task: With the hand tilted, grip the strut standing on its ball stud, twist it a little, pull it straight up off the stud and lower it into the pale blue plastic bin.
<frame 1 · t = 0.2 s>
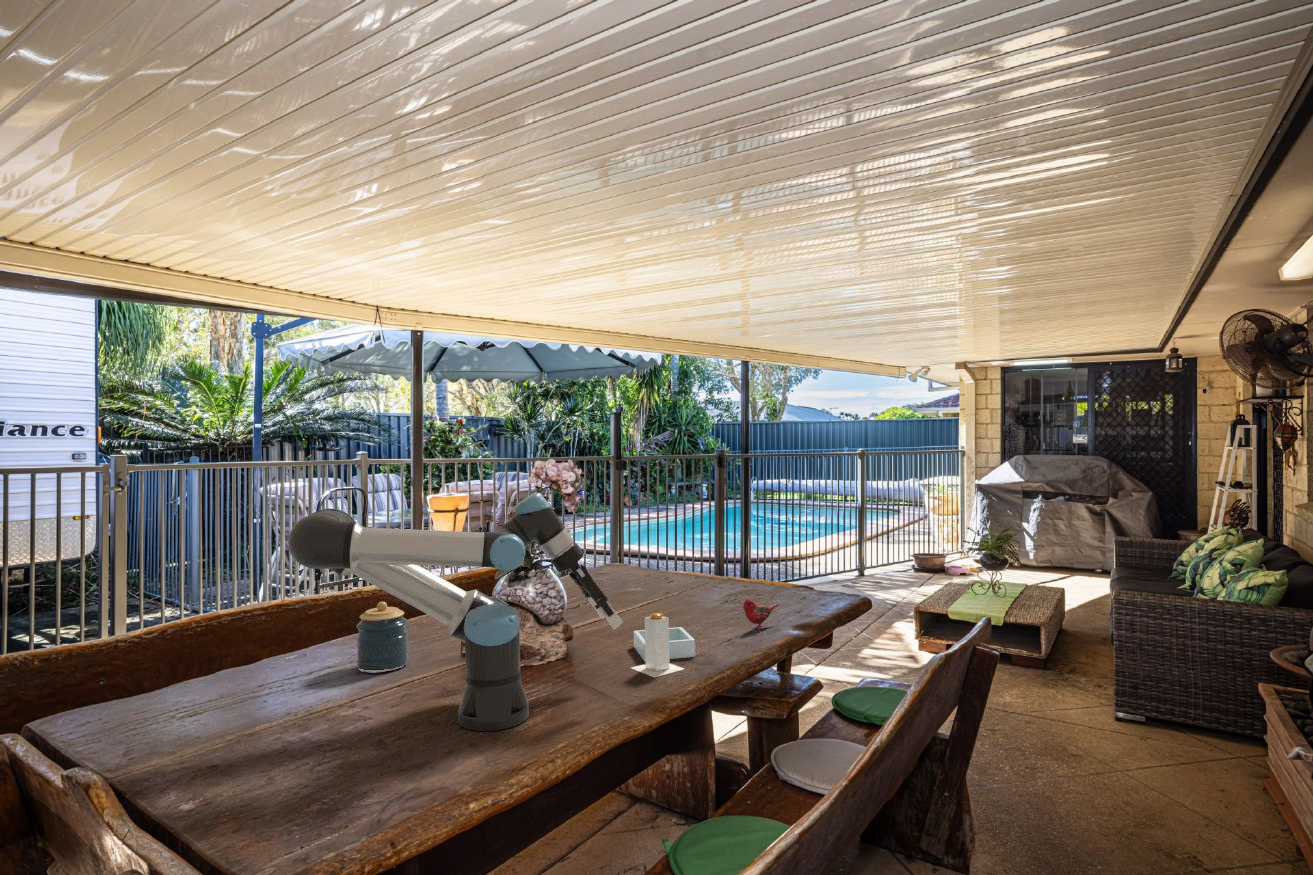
hand: (612, 620, 178), 16 cm above the table, tool tilted 35°, fingers open, 13 cm apart
stud base: (657, 674, 186), on the table
strut: (657, 668, 186), point 1 cm above the table, touching stud base
canister: (383, 667, 197), on the table
bin: (663, 656, 201), on the table
decorative bird figurine: (761, 628, 230), on the table
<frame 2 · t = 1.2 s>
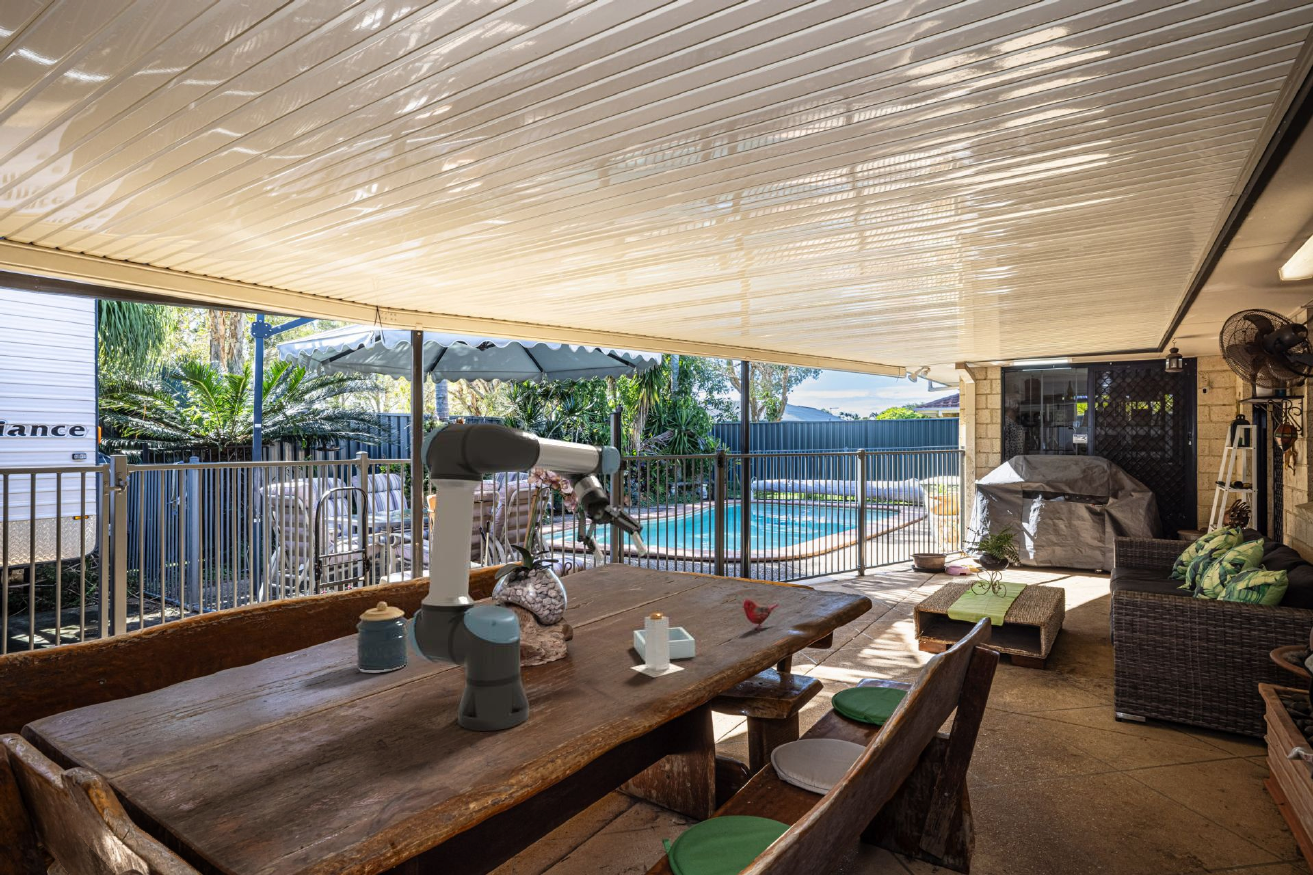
hand: (622, 556, 195), 29 cm above the table, tool tilted 45°, fingers open, 13 cm apart
nothing on the table moved.
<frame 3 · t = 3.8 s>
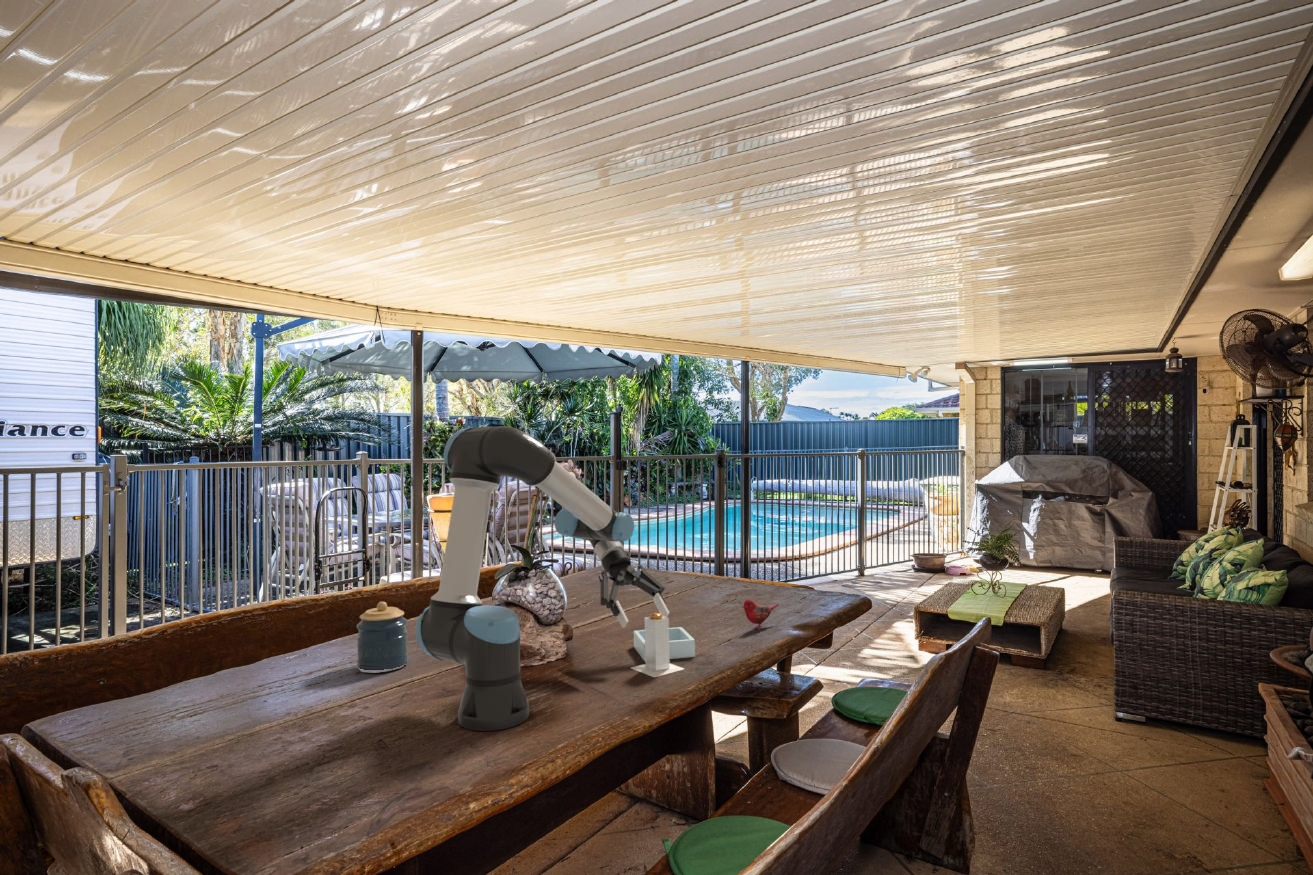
hand: (646, 620, 191), 13 cm above the table, tool tilted 45°, fingers open, 13 cm apart
nothing on the table moved.
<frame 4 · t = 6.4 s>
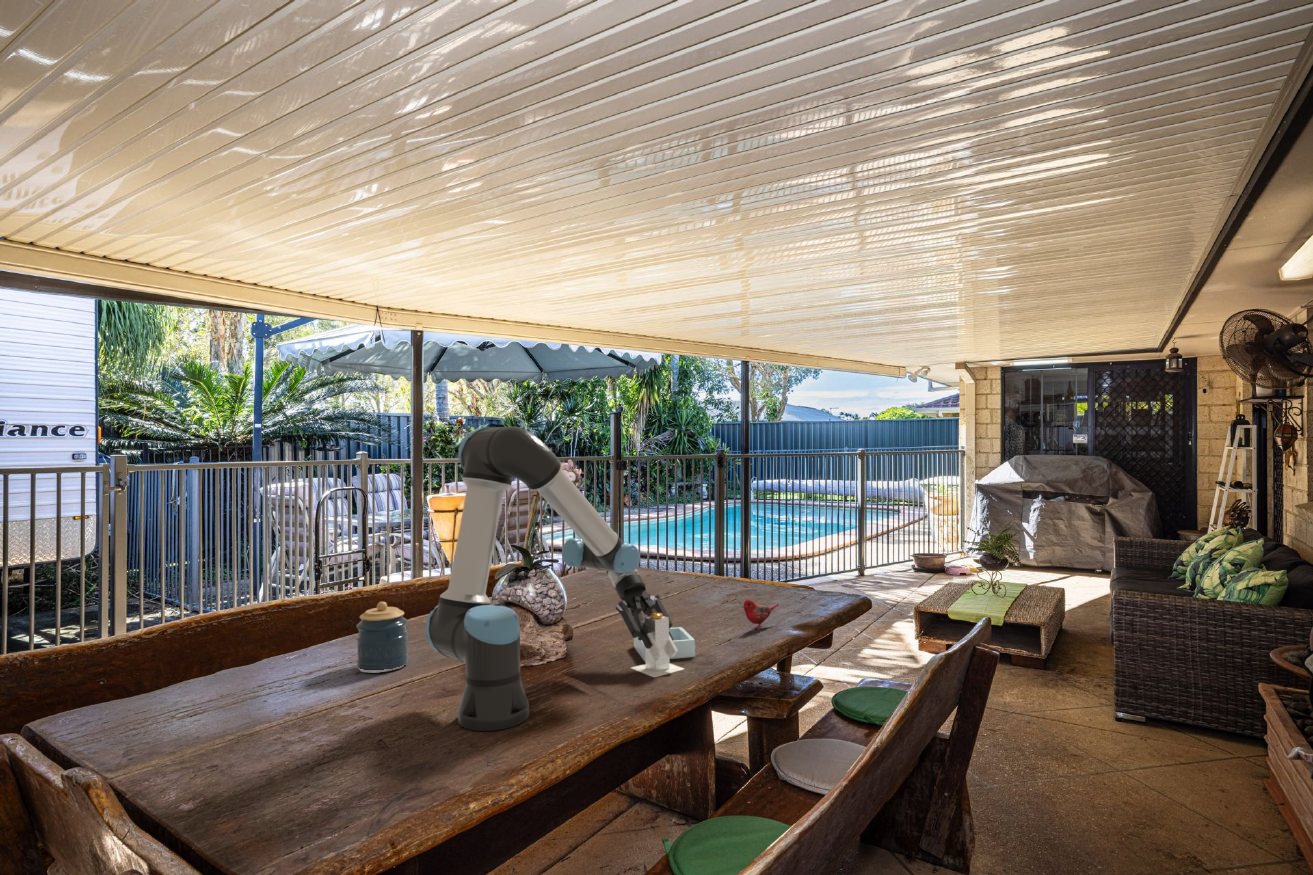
hand: (666, 655, 183), 6 cm above the table, tool tilted 45°, fingers closed on strut, 4 cm apart
strut: (657, 668, 186), point 2 cm above the table, touching gripper, stud base
everything else where it was.
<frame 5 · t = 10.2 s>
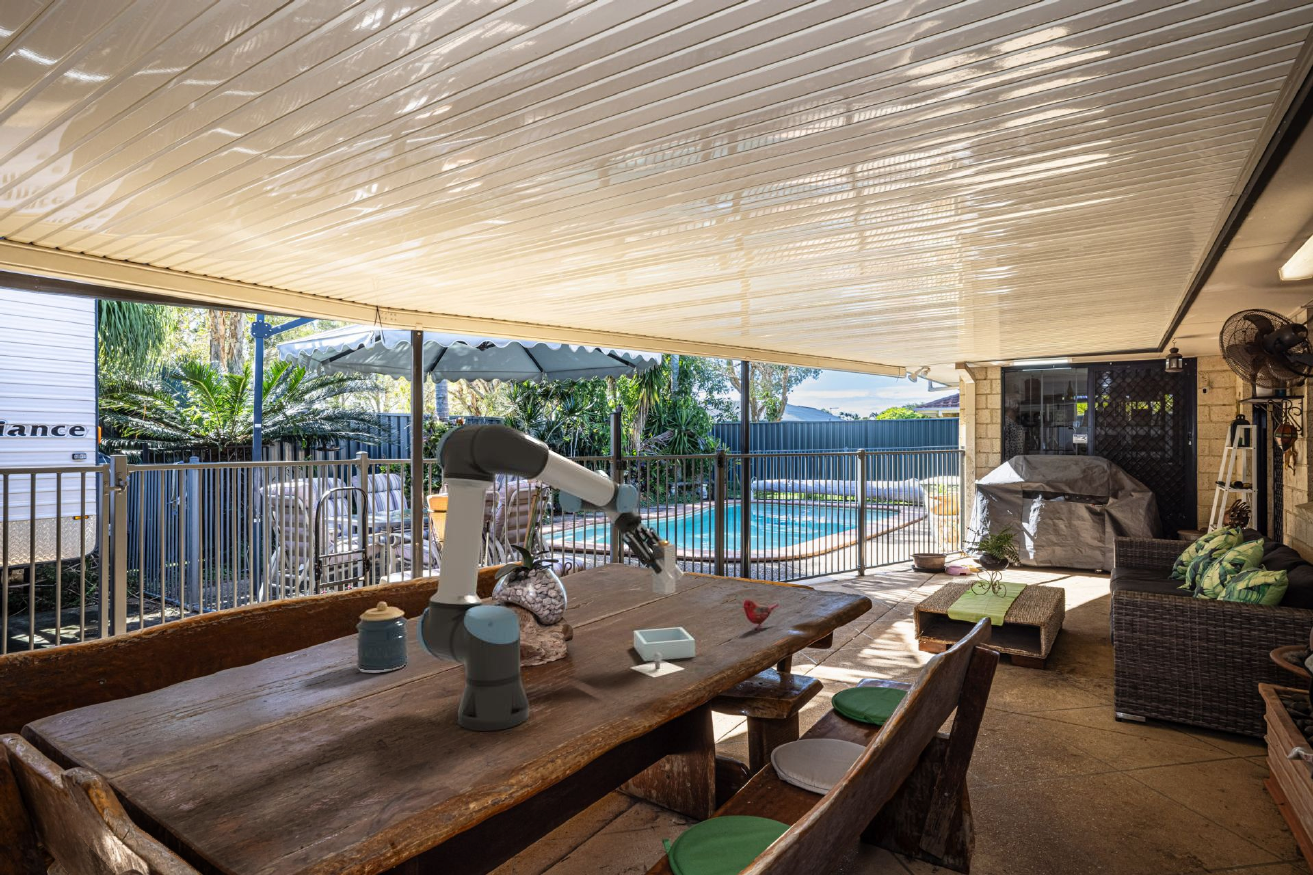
hand: (674, 579, 197), 22 cm above the table, tool tilted 45°, fingers closed on strut, 5 cm apart
strut: (664, 591, 199), point 18 cm above the table, touching gripper
everything else where it was.
when the fingers open (8 cm above the table, at t = 13.2 s): strut drops 3 cm, resting on bin.
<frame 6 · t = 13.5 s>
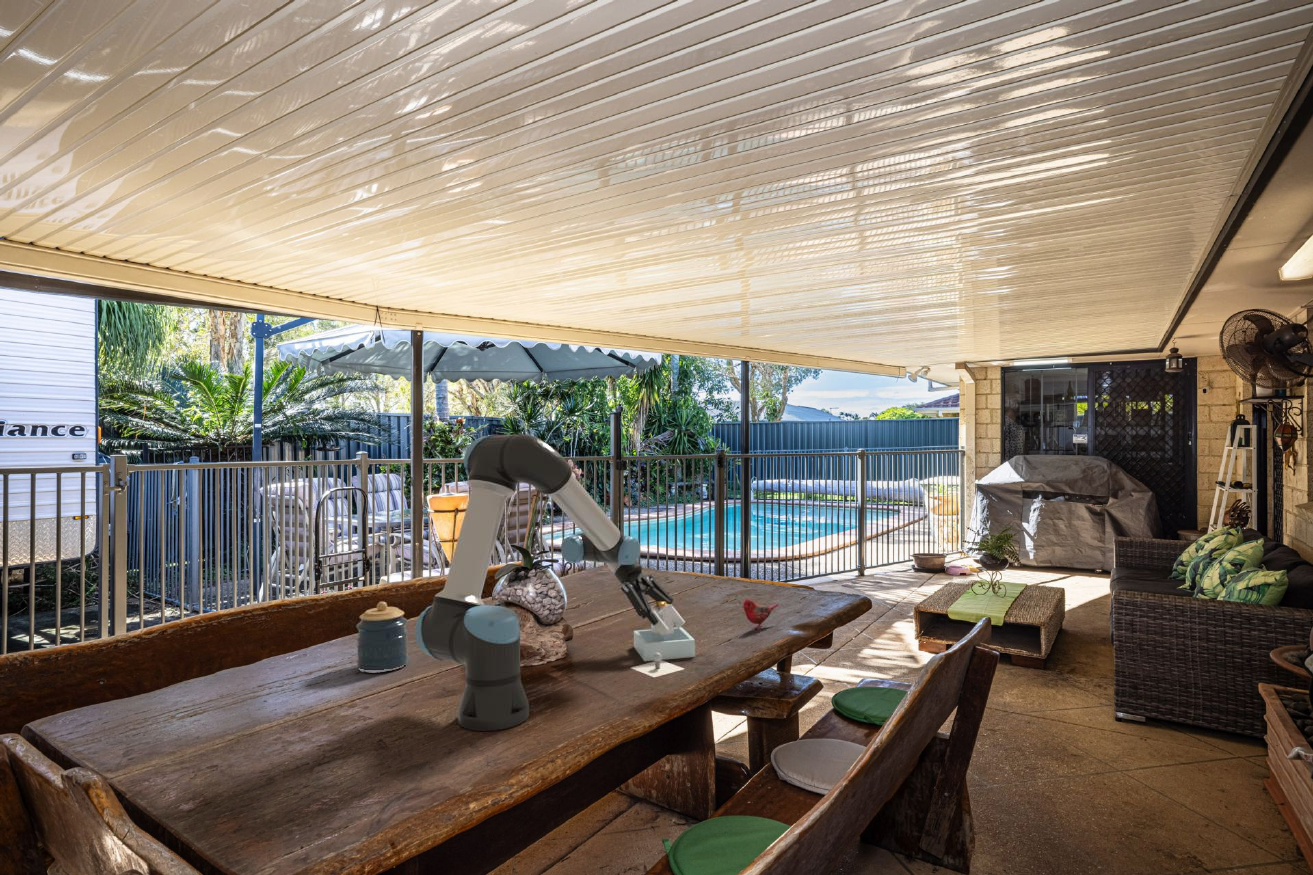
hand: (673, 628, 199), 8 cm above the table, tool tilted 45°, fingers open, 8 cm apart
strut: (664, 652, 201), point 1 cm above the table, touching bin
everything else where it was.
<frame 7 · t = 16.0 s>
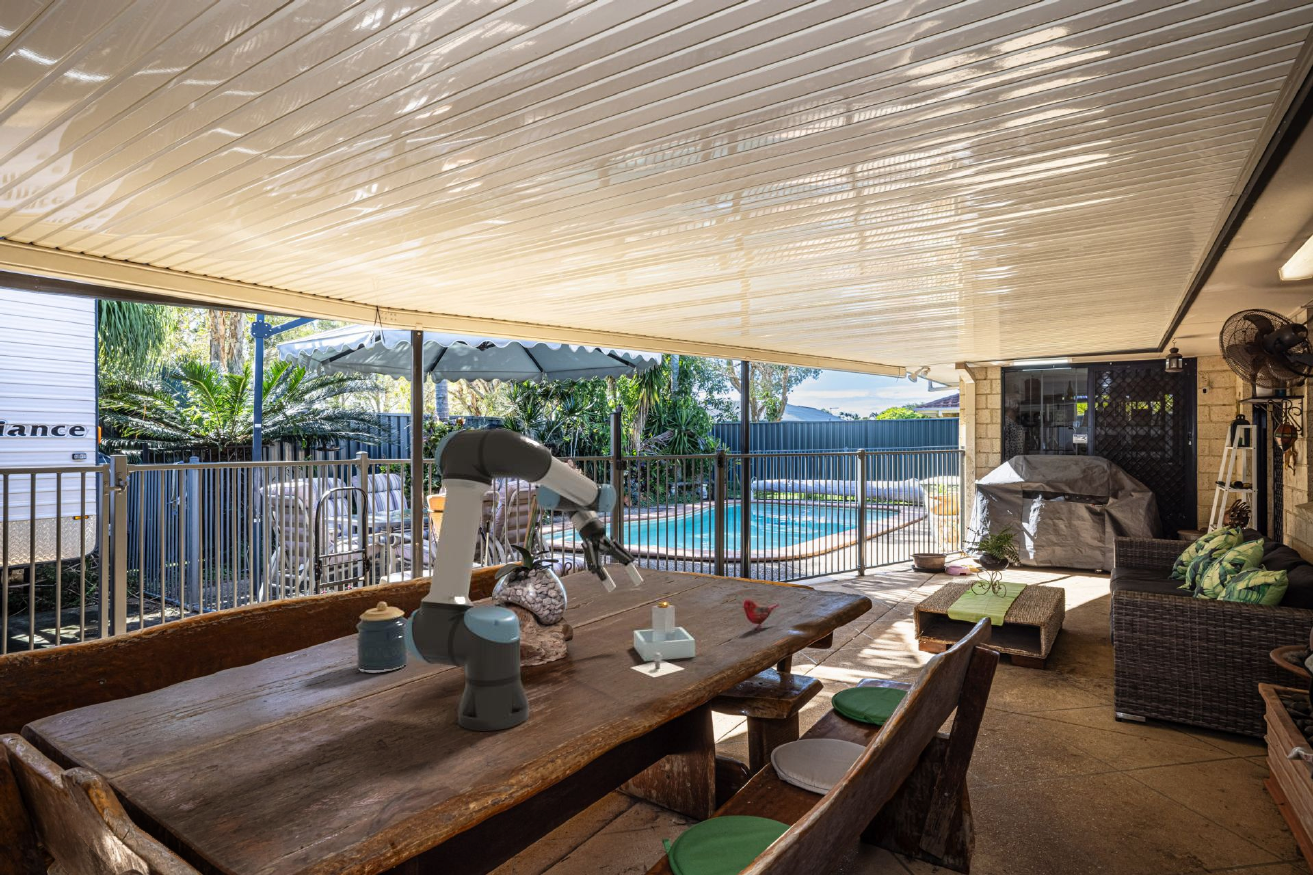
hand: (626, 586, 206), 19 cm above the table, tool tilted 40°, fingers open, 13 cm apart
nothing on the table moved.
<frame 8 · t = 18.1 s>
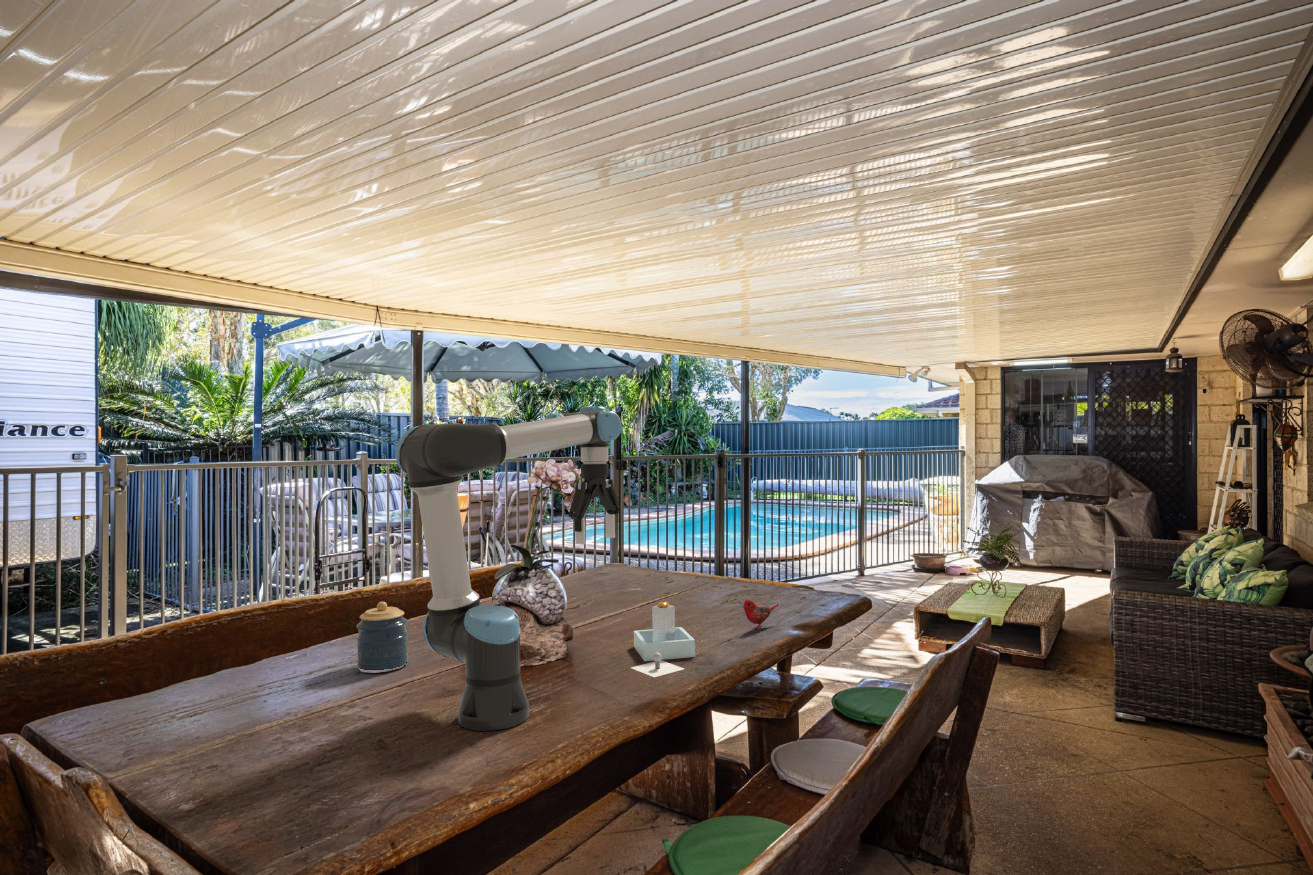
hand: (595, 540, 199), 33 cm above the table, tool pointing down, fingers open, 13 cm apart
nothing on the table moved.
at the end: strut inside the target area on the bin (0.1 cm from its centre), point 1.0 cm above the bin's base; the gripper is holding nothing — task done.
